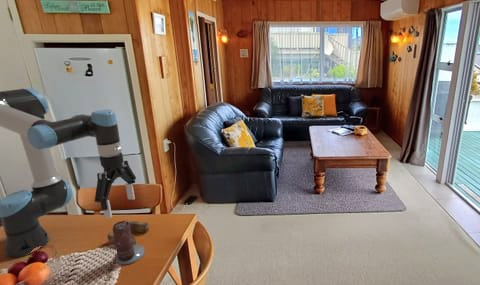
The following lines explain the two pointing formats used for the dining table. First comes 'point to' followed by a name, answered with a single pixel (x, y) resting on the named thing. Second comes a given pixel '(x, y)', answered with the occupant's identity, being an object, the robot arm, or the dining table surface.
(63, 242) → the dining table surface
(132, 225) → the rack
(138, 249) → the coaster
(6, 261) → the dining table surface
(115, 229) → the can
